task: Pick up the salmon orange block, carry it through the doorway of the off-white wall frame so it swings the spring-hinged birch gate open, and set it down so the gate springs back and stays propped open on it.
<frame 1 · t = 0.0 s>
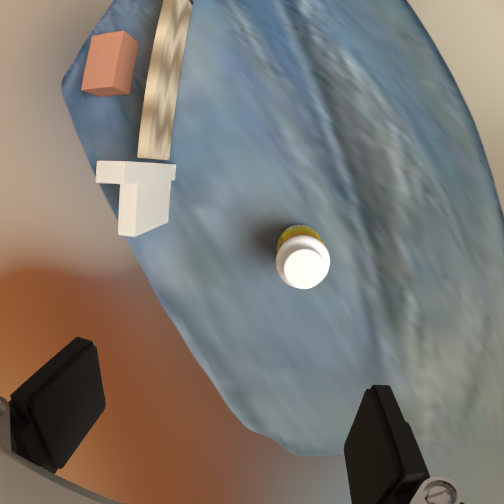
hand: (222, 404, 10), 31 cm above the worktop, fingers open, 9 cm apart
salmon orange block: (119, 69, 37), on the worktop
supplement bottle: (299, 245, 40), on the worktop
gate door: (166, 64, 32), point 4 cm above the worktop, hinge at 0.0°
wall frame: (175, 78, 36), on the worktop
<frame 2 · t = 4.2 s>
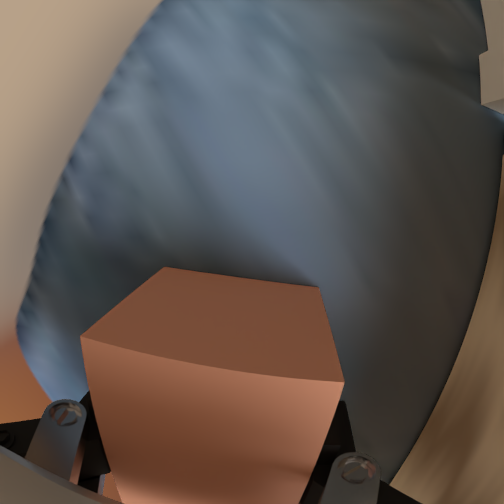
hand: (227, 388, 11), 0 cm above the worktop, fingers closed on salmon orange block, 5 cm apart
salmon orange block: (229, 380, 11), on the worktop, touching gripper
gate door: (468, 475, 7), point 4 cm above the worktop, hinge at 0.0°
wall frame: (430, 427, 11), on the worktop
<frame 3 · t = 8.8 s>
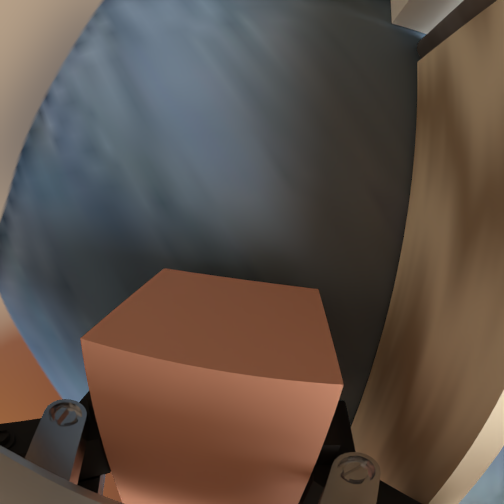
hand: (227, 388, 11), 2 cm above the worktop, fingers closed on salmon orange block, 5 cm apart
salmon orange block: (229, 381, 11), point 1 cm above the worktop, touching gripper
gate door: (423, 395, 8), point 4 cm above the worktop, hinge at 0.6°, touching gripper
wall frame: (383, 355, 12), on the worktop
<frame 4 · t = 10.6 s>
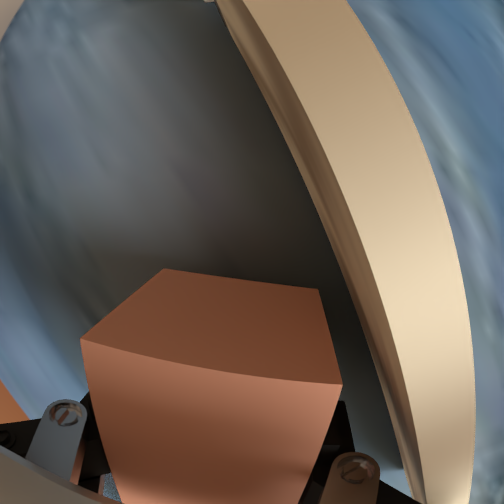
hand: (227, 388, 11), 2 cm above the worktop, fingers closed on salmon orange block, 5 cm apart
salmon orange block: (229, 381, 11), point 1 cm above the worktop, touching gripper
gate door: (399, 348, 8), point 4 cm above the worktop, hinge at 29.9°, touching gripper
when the fingers open (2 cm above the worktop, at t = 12.7 s): salmon orange block drops 2 cm, on the worktop.
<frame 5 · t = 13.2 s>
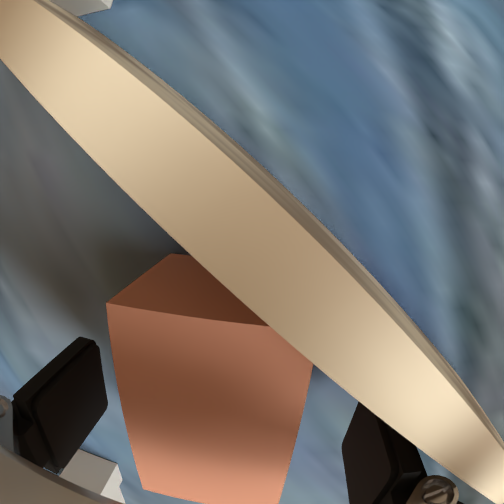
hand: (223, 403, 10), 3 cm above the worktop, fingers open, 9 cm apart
salmon orange block: (231, 353, 13), on the worktop
gate door: (261, 207, 7), point 4 cm above the worktop, hinge at 52.8°, touching gripper
wall frame: (61, 296, 13), on the worktop
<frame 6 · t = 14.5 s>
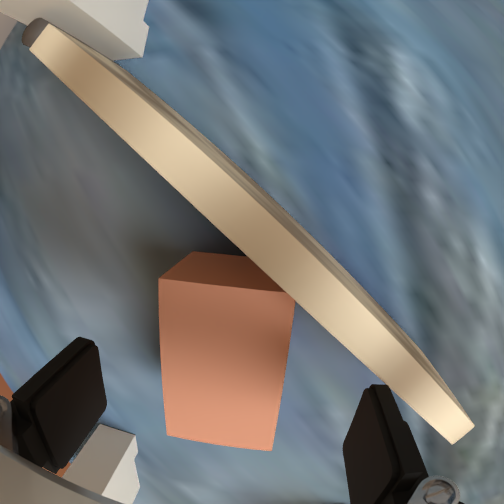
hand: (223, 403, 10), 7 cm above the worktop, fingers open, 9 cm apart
salmon orange block: (236, 327, 17), on the worktop
gate door: (261, 216, 12), point 4 cm above the worktop, hinge at 53.1°, touching gripper
wall frame: (100, 286, 17), on the worktop
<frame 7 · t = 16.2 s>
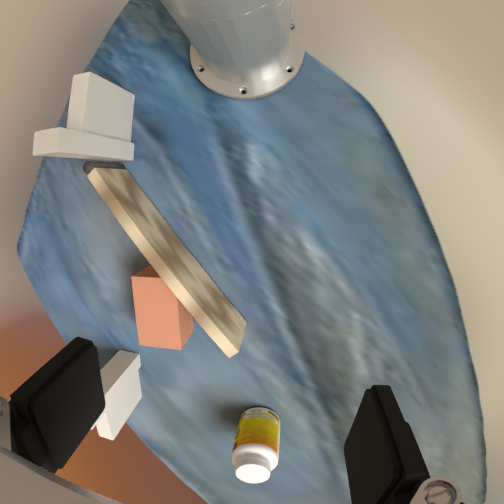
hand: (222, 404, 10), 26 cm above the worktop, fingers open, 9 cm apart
salmon orange block: (171, 298, 37), on the worktop, touching gate door
supplement bottle: (260, 419, 40), on the worktop
gate door: (166, 250, 32), point 4 cm above the worktop, hinge at 41.1°, touching salmon orange block
wall frame: (122, 269, 37), on the worktop
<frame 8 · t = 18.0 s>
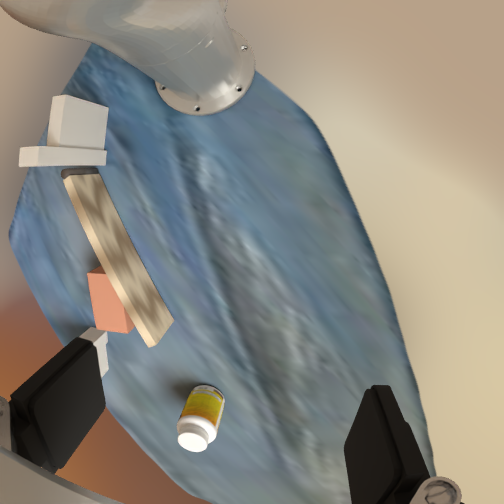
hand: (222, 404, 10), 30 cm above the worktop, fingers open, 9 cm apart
salmon orange block: (123, 290, 43), on the worktop, touching gate door
supplement bottle: (208, 396, 46), on the worktop
gate door: (116, 251, 37), point 4 cm above the worktop, hinge at 32.2°, touching salmon orange block
wall frame: (94, 257, 42), on the worktop
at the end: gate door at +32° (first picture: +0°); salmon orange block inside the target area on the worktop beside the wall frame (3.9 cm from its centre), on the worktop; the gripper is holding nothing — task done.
